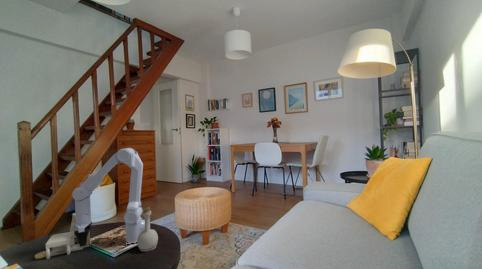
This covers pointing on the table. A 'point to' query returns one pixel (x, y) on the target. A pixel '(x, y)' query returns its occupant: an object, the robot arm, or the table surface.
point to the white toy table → (60, 242)
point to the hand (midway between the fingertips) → (84, 242)
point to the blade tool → (72, 248)
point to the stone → (73, 228)
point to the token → (40, 255)
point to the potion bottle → (147, 234)
